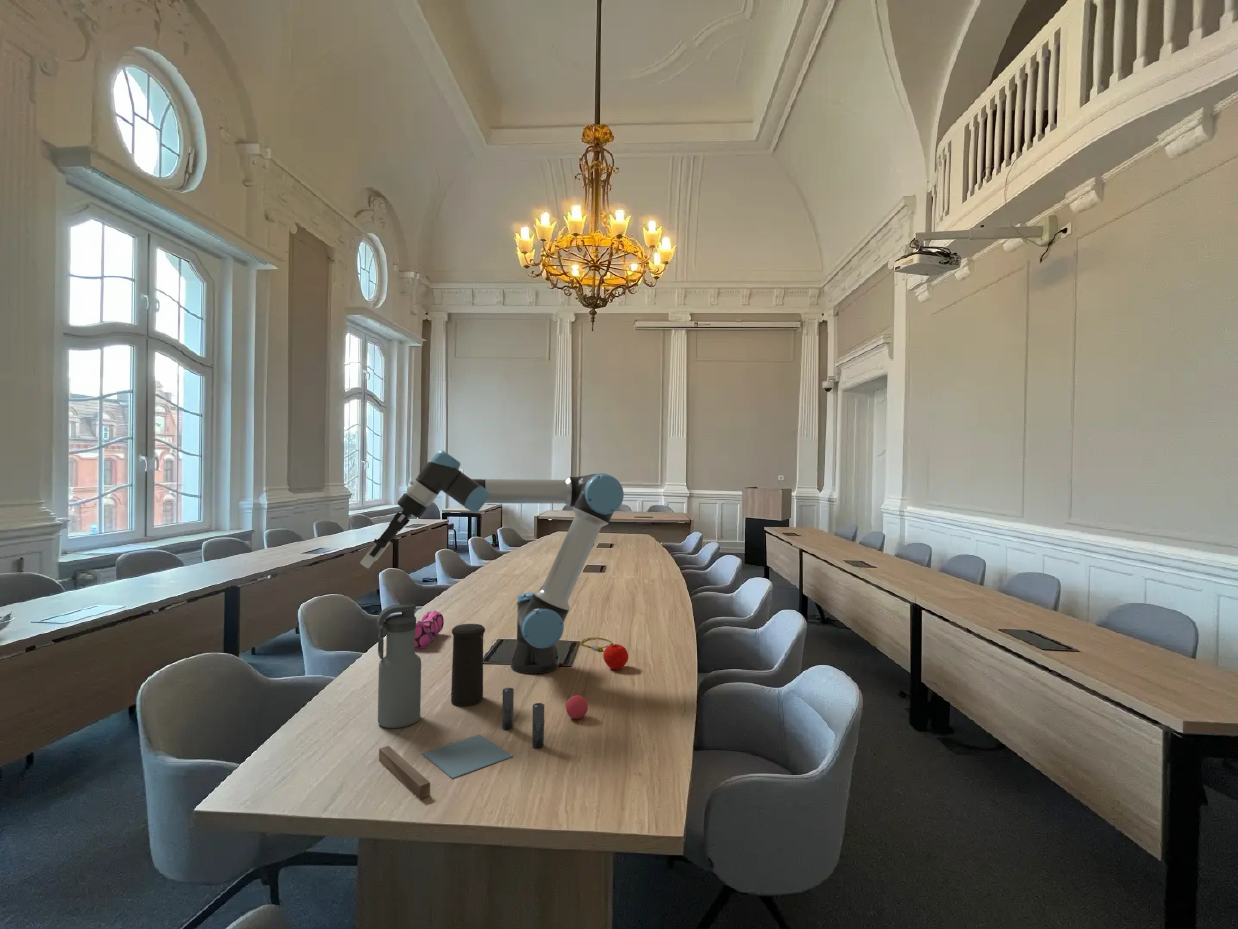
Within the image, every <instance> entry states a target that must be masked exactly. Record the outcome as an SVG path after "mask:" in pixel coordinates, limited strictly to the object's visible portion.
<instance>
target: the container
mask: <svg viewBox="0 0 1238 929" xmlns="http://www.w3.org/2000/svg"><path fill="white" fill-rule="evenodd" d="M485 632H486V628H485V627H484V625H482V624H479V623H478V624H477V623H461V624H458V625H457V624H456V625H455V626H454V627H452V629H451V634H452V636H453V638H452V661H451V662H452V666H451V693H450V703H451V704H452V705H453V706H458V707H468V706H474V705H477V704H478V703H481V701H483V699H484V634H485Z"/></svg>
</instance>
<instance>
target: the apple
mask: <svg viewBox="0 0 1238 929" xmlns="http://www.w3.org/2000/svg"><path fill="white" fill-rule="evenodd" d="M609 645H610V644H609ZM602 658H603V661H604V663H605V664H606V666H607V667H608V668H609V669H612V670H615V671H619V670H621V669H623V668H624V666H626V664H627V663H628V660H629V652H628V650H627V648H626V647H624V646H623V645H621V644H619V643H618V644H617V643H614V644H613V643H612V645H610V646H608V647H605V649H604V650H603V654H602Z"/></svg>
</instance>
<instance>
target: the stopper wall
mask: <svg viewBox="0 0 1238 929" xmlns="http://www.w3.org/2000/svg"><path fill="white" fill-rule="evenodd" d="M378 762H379V763H381V764H382V765H383V766H384V767H385V768H386V769H387V770H388V771H389V772H390V773H391V774H392V775H393V776H394V777H395V778H397V779H398V781H399V782H401V783H402V784H403V786H405V787H406V788H407V789H408V790H409V791H410V792H411V791H412V792H413V793H414V794H415V795H416V796H417V797H418V798H419V799H420V800H422V799H421V798H423V799H425V798H424V797H426V798H428V797H430V796H431V781H429V780H428V779H427V778H426V777H425V776H424V775H422V774H421V773H420V771H418V770H417V769H415V767H413V766H412V765H411V764H410V763H409V762H407V760H406V759H404V758H403V757H402V756H401V755H400V754H399V753H398V752H396V751H395V750H394V749H393V748H392V747H391V746H390V745H387V746H384V747H380V748H379V749H378ZM412 792H411V793H412ZM413 793H412V794H413ZM414 794H413V795H414ZM415 795H414V796H415ZM416 796H415V797H416ZM417 797H416V798H417ZM418 798H417V799H418ZM419 799H418V800H419Z"/></svg>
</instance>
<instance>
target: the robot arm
mask: <svg viewBox="0 0 1238 929" xmlns="http://www.w3.org/2000/svg"><path fill="white" fill-rule="evenodd" d="M460 467H461V462H460V461H459V460H457V459H456V458H454V457H453V456H452V455H451V454H450V453H448V452H446V451H445V450H443V449H442V450H441V449H440V450H438V451H437V452H436V453H435V454H434V455H433V456H432V457H431V459H430V460H429V461H428V462H427V463H426V465H425V466H424V467H423V468H422V470H421V471H420V472H419V474H418V476H416V478H415V480H414V481H410V482H409V485H410V486H409V487H408V488H407V489H406V491H407V492H405V493H403V494H402V495H401V497H400V498H399V499H398V501H397V505H398V506H399V507H400V508H401V509H402V510H401V512H399V511H398V512H396V513H395V515H394V516H393V519H392V520H391V521H390V522H389V524H388V527H387V528H386V529H385V530H384V531H383V533H382V534H381V535H380V536H379V538H375V539H374V540H373V543H374V544H373V545H372V546H371V548H370V549H369V550H368V551H367V553H366V554H365V555H364V556H363V558H362V559H361V560H360V562H359V564H360V565H362V566H363V567H364V568H366V569H367V570H368V569H370V568H371V566H372V565H373V564H374V563H375V562H377V561H378V559H379V558H380V557H381V556H382V554H383V553H384V552H385V550H386V549H387V548H388V546H389V545H390V544H393V543H394V542H395V541H396V540H395V538H396V536H397V534H398V533H399V532H400V531H401V530H403V528H405V527H406V526H407V525H408V523H409V522H410V521H411V520H410V518H411V517H412V516H413V517H415V518H421V517H422V516H423V514H424V513H425V512H426V511H427V509H428V508H427V507H429V506H430V505H431V504H432V503H433V502H434V500H435V499H436V498H437V496H438V495H439V494H440V493H441V492H443V493H444V494H445V495H447V496H449V497H450V498H452V499H453V500H454V501H455V502H456V503H459V505H461V506H462V507H464V508H465V509H467V510H469V511H470V512H472V513H474V514H476V513H478V512H479V511H480V510H481V509H482V507H483V506H484V505H485V504H555V505H556V504H561V505H562V504H563V505H564V504H565V505H566V506H567V507H569V508H570V507H573V508H572V509H573V512H574V518H573V520H572V522H571V524H570V526H569V528H568V530H567V532H566V535H565V537H564V539H563V542H562V544H561V546H560V548H559V551H558V552H557V555H556V557H555V559H554V561H553V563H552V565H551V568H550V570H549V572H548V575H546V578H545V579H544V580H545V581H544V583H543V585H542V587H541V589H538V590H536V591H533V592H523V593H520V594H518V596H517V602H516V605H517V606H516V607H517V613H516V614H517V615H516V616H517V617H516V621H517V622H516V643H515V646H514V650H513V652H512V656H511V659H510V668H511V670H513V671H515V672H517V673H522V674H542V673H548V672H552V671H554V670H556V669H558V668H559V666H560V657H559V653H558V649H557V646H556V644H558V642H559V641H560V640H561V638H562V636H563V633H564V627H565V625H564V622H565V620H566V618H567V616H568V613H569V612H570V608H571V607H570V605H569V599H570V597H571V595H572V592H573V591H574V588H575V586H576V584H577V583H578V579H579V577H580V576H581V573H582V570H583V568H584V566H585V564H586V562H587V560H588V558H589V555H590V553H591V551H592V549H593V546H594V545H595V542H596V540H597V538H598V536H599V534H600V531H601V528H603V527H605V526H607V525H609V523H610V521H611V519H612V517H613V515H614V513H615V512H616V511H618V509H620V508H621V505H622V504H623V501H624V497H625V496H624V495H625V494H624V488H623V486H622V484H621V482H620V481H619V479H617V478H616V477H614V476H612V475H611V474H608V473H592V474H588V475H587V474H586V475H580V476H567V477H566V478H565V479H517V478H515V479H505V478H504V479H502V478H501V479H500V478H499V479H498V478H497V479H495V478H490V479H488V478H486V479H484V478H483V479H481V478H479V479H478V478H470V477H469V476H467V475H466V474H465V473H463V472H462V471H461V470H460Z"/></svg>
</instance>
